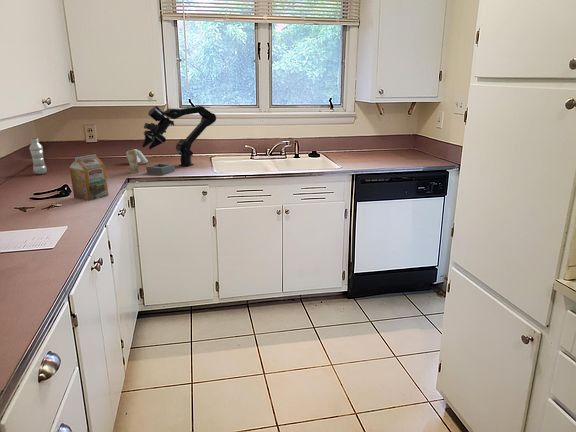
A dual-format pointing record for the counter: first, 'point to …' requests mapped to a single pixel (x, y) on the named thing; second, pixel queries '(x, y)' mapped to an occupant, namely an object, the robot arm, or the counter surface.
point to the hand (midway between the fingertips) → (146, 147)
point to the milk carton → (88, 178)
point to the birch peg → (133, 161)
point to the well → (160, 169)
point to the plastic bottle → (37, 157)
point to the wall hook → (139, 157)
